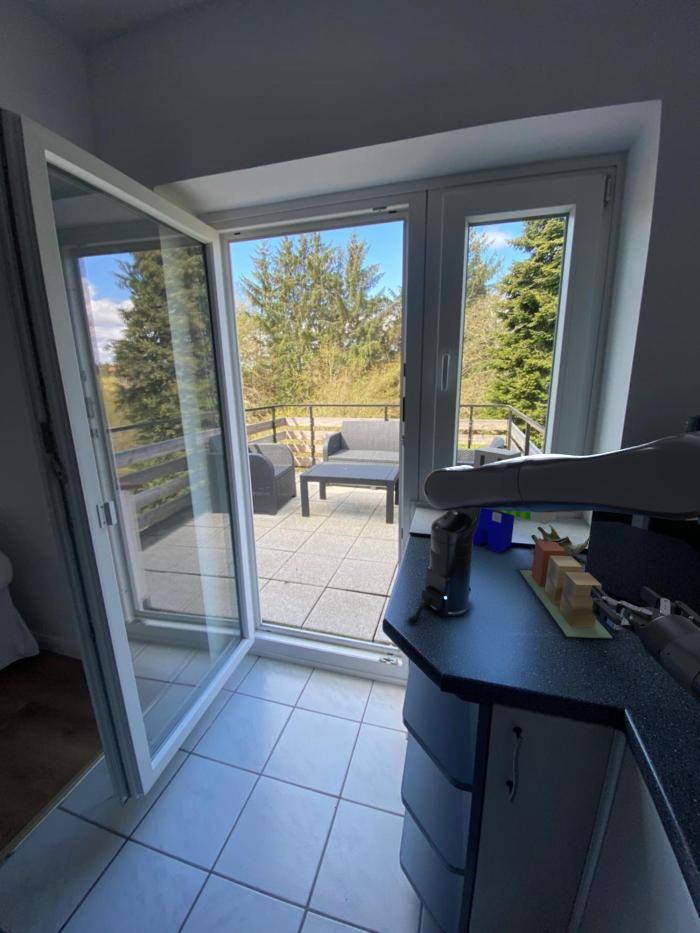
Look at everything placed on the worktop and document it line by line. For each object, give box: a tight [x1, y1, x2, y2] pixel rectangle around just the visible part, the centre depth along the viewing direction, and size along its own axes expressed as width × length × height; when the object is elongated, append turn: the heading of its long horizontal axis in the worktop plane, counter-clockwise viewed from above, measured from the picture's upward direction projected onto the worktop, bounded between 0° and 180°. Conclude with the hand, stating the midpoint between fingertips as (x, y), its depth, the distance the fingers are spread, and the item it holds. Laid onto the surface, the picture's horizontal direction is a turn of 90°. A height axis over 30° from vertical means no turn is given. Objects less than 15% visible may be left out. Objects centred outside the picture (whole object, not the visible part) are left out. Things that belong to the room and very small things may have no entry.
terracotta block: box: [531, 542, 565, 587], centre depth 95 cm, size 5×5×10 cm
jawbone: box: [530, 524, 589, 557], centre depth 109 cm, size 9×15×10 cm
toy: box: [473, 446, 558, 553], centre depth 114 cm, size 34×7×30 cm, turn 40°
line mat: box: [519, 569, 613, 639], centre depth 89 cm, size 26×9×1 cm, turn 176°
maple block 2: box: [559, 572, 603, 627], centre depth 80 cm, size 5×5×10 cm
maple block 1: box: [544, 556, 583, 605], centre depth 87 cm, size 5×5×10 cm
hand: (618, 590), depth 67 cm, fingers open, 8 cm apart
